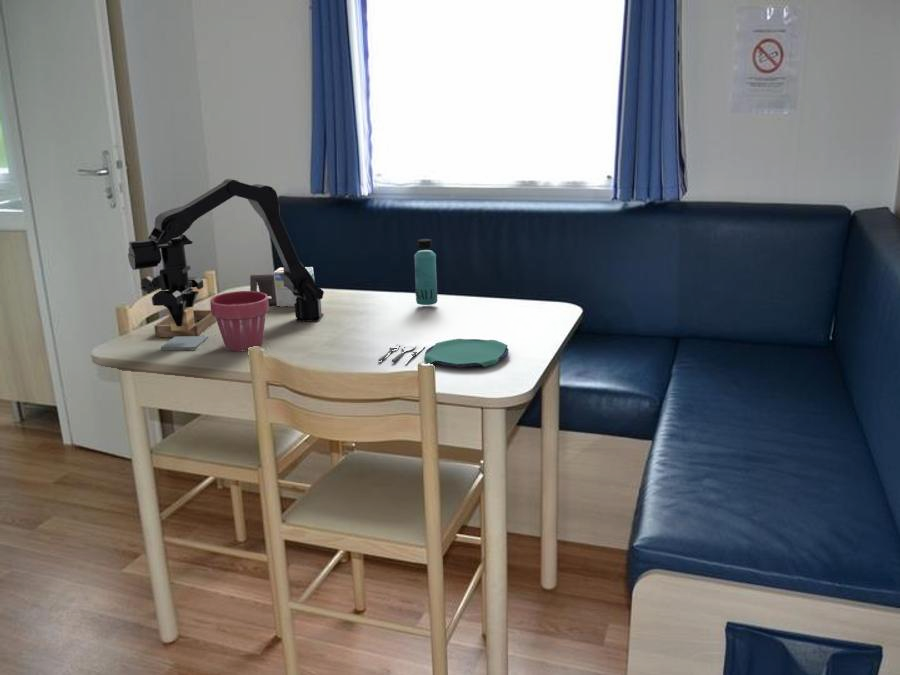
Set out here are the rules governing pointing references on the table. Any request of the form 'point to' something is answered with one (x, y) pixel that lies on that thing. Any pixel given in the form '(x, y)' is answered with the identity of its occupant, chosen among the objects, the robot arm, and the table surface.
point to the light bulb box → (285, 289)
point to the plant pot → (240, 318)
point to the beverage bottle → (425, 274)
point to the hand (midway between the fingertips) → (182, 323)
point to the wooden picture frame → (204, 322)
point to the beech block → (184, 321)
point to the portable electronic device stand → (264, 286)
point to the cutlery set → (463, 352)
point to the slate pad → (184, 342)
